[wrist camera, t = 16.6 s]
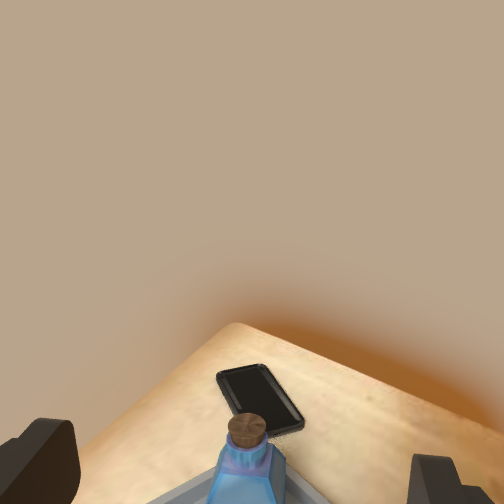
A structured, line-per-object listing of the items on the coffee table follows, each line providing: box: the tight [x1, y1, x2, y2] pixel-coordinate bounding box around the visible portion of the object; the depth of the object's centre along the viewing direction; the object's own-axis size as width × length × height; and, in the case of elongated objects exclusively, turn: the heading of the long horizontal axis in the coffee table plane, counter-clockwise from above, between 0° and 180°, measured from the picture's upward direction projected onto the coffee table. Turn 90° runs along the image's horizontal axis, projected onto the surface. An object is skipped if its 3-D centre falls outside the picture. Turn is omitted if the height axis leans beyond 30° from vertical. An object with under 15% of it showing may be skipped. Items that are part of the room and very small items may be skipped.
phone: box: [216, 364, 304, 439], centre depth 61 cm, size 8×1×15 cm
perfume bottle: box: [205, 413, 286, 504], centre depth 39 cm, size 6×6×12 cm
